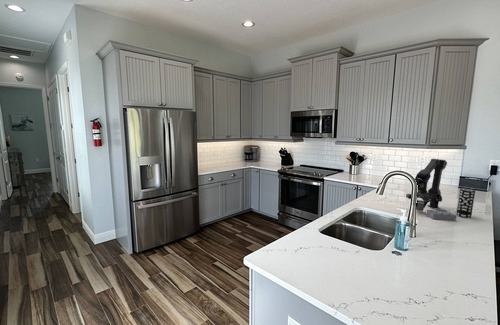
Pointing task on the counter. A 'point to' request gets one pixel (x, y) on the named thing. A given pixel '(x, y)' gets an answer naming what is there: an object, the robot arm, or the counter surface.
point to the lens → (420, 205)
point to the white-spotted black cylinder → (465, 203)
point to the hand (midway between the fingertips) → (419, 207)
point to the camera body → (441, 214)
